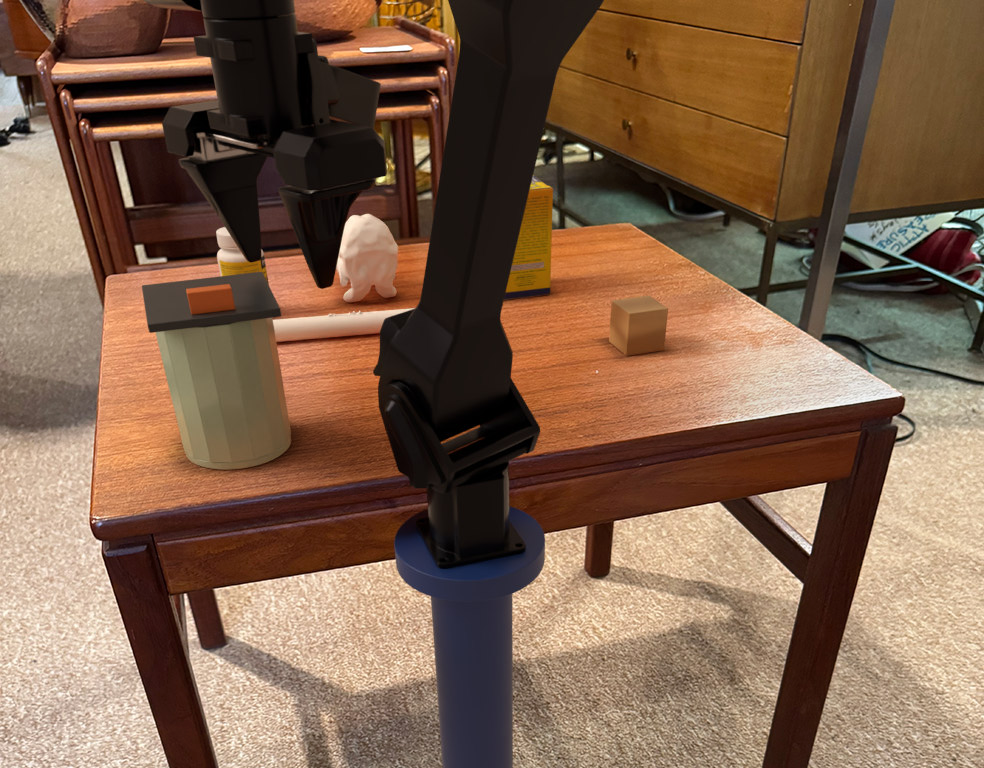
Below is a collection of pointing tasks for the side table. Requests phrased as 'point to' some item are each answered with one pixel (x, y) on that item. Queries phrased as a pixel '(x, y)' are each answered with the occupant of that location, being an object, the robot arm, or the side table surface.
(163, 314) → the slider
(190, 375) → the tumbler
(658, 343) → the block
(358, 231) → the penguin figurine
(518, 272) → the supplement box
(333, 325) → the white rod
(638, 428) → the side table surface
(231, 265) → the supplement bottle
